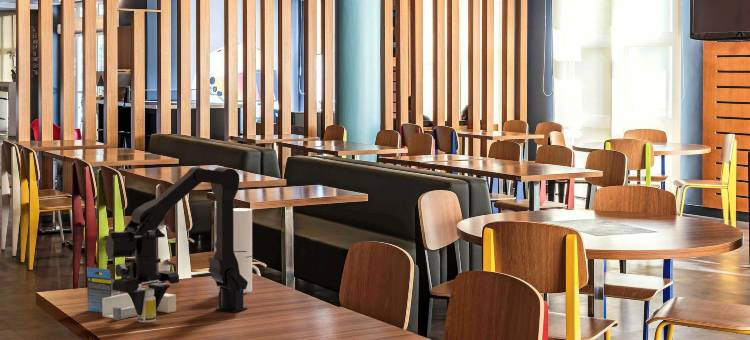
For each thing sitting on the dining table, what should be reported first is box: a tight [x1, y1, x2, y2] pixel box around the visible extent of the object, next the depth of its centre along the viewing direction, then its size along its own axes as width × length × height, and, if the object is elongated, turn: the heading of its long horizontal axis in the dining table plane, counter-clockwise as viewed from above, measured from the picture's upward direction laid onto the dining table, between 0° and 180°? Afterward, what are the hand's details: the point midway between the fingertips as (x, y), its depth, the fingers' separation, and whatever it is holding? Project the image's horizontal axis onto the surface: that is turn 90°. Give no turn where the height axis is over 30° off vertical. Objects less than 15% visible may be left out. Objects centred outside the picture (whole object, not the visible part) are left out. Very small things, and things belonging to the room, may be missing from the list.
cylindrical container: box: [233, 207, 253, 294], centre depth 322 cm, size 7×7×25 cm
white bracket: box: [101, 292, 177, 321], centre depth 289 cm, size 10×19×5 cm, turn 145°
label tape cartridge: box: [86, 266, 121, 313], centre depth 291 cm, size 9×4×12 cm, turn 62°
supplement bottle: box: [137, 287, 157, 324], centre depth 280 cm, size 5×5×8 cm
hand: (146, 313), depth 280 cm, fingers open, 5 cm apart
